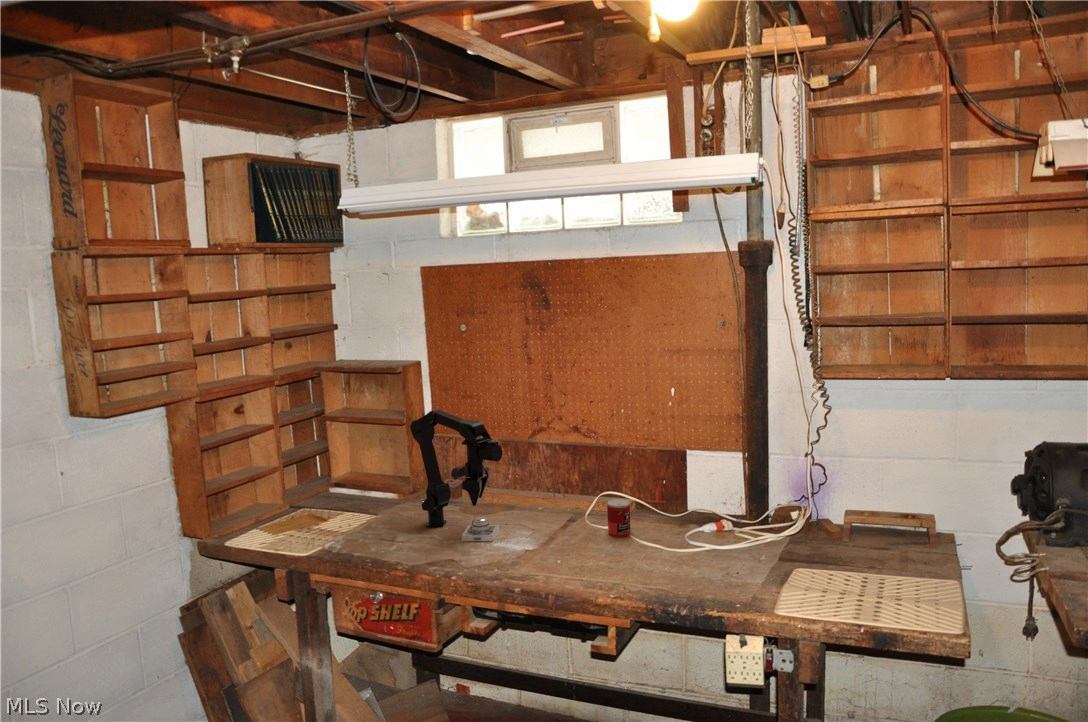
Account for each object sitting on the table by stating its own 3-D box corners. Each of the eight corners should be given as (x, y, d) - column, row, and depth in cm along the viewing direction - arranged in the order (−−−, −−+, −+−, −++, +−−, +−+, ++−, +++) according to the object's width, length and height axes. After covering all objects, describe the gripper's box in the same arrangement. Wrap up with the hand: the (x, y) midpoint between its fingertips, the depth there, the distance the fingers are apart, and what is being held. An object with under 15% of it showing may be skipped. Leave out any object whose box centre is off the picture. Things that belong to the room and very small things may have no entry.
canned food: (620, 539, 269) (619, 507, 268) (603, 533, 275) (602, 502, 274) (635, 533, 274) (634, 502, 273) (618, 528, 280) (617, 497, 279)
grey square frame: (468, 530, 284) (468, 525, 283) (499, 530, 282) (498, 525, 282) (461, 541, 272) (461, 536, 272) (493, 542, 271) (492, 536, 271)
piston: (474, 532, 281) (473, 516, 281) (491, 532, 281) (490, 516, 280) (470, 538, 275) (469, 521, 275) (488, 538, 275) (487, 521, 274)
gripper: (458, 451, 286) (460, 493, 288) (445, 464, 268) (448, 509, 270) (489, 451, 285) (490, 493, 287) (478, 464, 267) (480, 510, 269)
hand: (477, 501), depth 278 cm, fingers open, 9 cm apart
